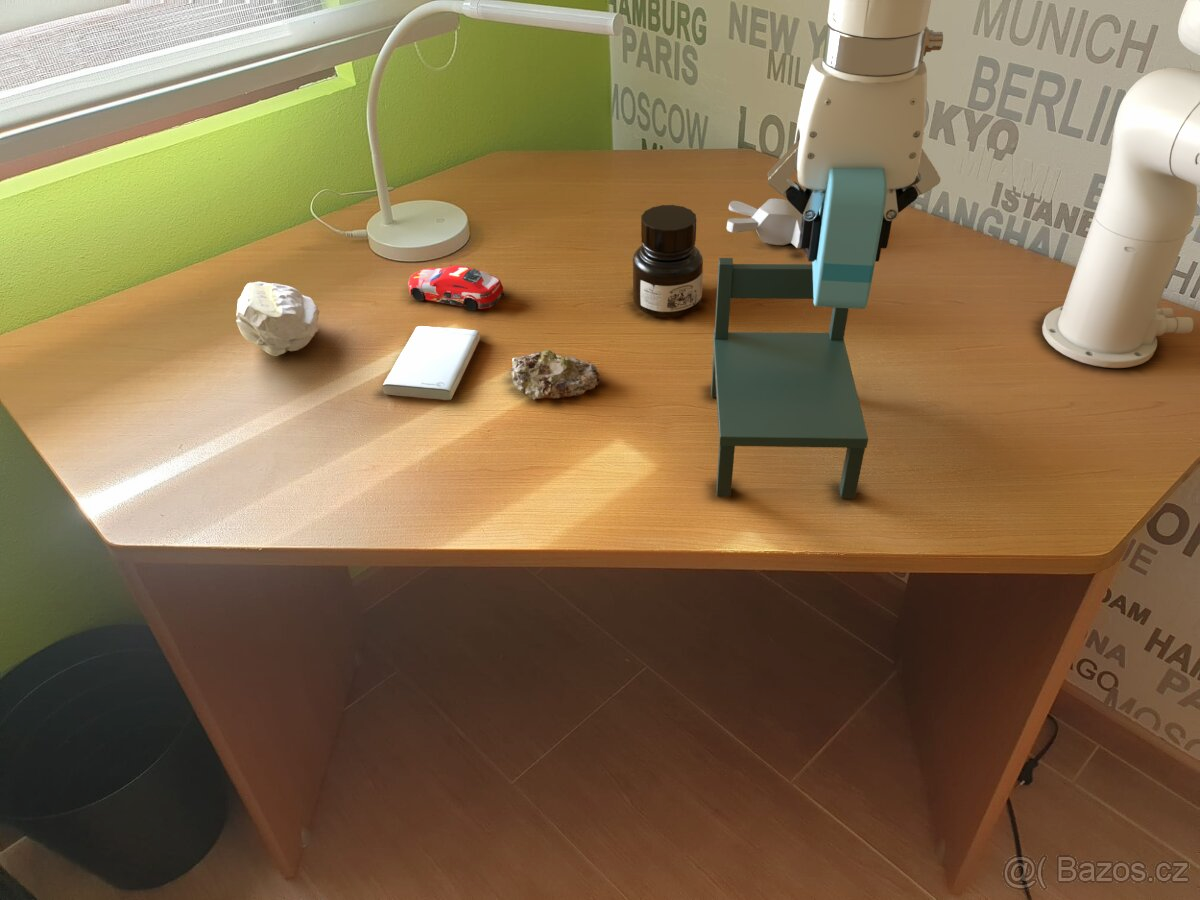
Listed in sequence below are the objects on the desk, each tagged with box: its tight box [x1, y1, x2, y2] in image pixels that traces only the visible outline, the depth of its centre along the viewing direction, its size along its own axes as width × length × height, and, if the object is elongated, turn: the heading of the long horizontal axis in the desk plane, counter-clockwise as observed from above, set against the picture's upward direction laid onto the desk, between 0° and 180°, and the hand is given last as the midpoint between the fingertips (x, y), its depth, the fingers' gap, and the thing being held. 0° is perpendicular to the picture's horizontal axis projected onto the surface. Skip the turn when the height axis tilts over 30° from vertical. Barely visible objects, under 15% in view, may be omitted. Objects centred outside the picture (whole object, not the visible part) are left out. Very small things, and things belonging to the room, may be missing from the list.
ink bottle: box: [632, 204, 704, 319], centre depth 121 cm, size 10×9×12 cm
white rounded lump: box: [235, 281, 320, 357], centre depth 117 cm, size 12×8×10 cm
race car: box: [407, 264, 505, 312], centre depth 126 cm, size 13×5×4 cm, turn 68°
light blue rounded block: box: [811, 168, 887, 310], centre depth 85 cm, size 12×4×12 cm, turn 171°
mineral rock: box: [510, 349, 602, 400], centre depth 111 cm, size 11×4×8 cm
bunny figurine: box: [726, 198, 802, 249], centre depth 135 cm, size 10×5×15 cm
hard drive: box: [382, 325, 481, 401], centre depth 115 cm, size 2×8×12 cm
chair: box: [710, 257, 869, 500], centre depth 97 cm, size 14×18×17 cm
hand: (841, 252), depth 87 cm, fingers closed on light blue rounded block, 4 cm apart
